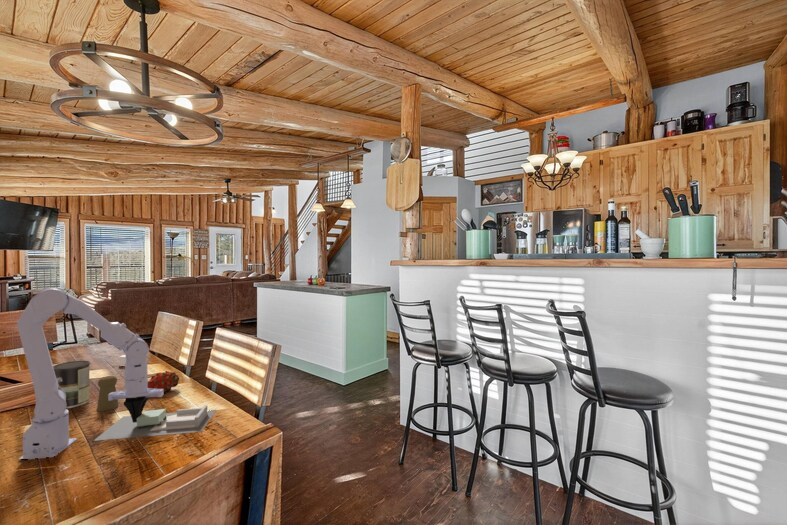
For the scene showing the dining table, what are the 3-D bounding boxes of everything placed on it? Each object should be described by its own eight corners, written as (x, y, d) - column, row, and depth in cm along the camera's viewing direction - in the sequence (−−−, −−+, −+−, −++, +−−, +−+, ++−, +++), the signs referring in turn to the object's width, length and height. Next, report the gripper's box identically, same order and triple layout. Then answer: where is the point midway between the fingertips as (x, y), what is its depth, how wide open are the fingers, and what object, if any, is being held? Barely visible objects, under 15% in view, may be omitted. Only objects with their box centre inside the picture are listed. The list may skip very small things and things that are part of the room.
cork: (106, 412, 123) (106, 380, 123) (92, 411, 124) (91, 379, 124) (123, 405, 129) (122, 374, 129) (109, 404, 130) (108, 373, 130)
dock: (201, 434, 109) (201, 421, 109) (93, 443, 104) (93, 430, 104) (216, 412, 125) (216, 400, 125) (123, 419, 119) (123, 407, 119)
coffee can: (59, 412, 123) (59, 370, 123) (46, 406, 128) (45, 366, 128) (95, 401, 132) (95, 362, 132) (82, 396, 137) (81, 359, 137)
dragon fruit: (182, 392, 145) (146, 404, 138) (177, 376, 150) (142, 386, 143) (181, 379, 140) (144, 391, 133) (176, 363, 145) (140, 373, 138)
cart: (160, 426, 112) (159, 415, 112) (136, 429, 110) (135, 418, 110) (167, 418, 117) (166, 408, 117) (144, 421, 116) (144, 411, 116)
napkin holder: (112, 367, 174) (112, 355, 174) (141, 362, 182) (141, 351, 182) (119, 374, 164) (119, 361, 164) (149, 368, 172) (149, 356, 172)
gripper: (167, 372, 118) (167, 413, 118) (117, 374, 115) (117, 417, 115) (158, 379, 111) (158, 423, 111) (104, 382, 108) (104, 427, 109)
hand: (136, 420), depth 113 cm, fingers closed
